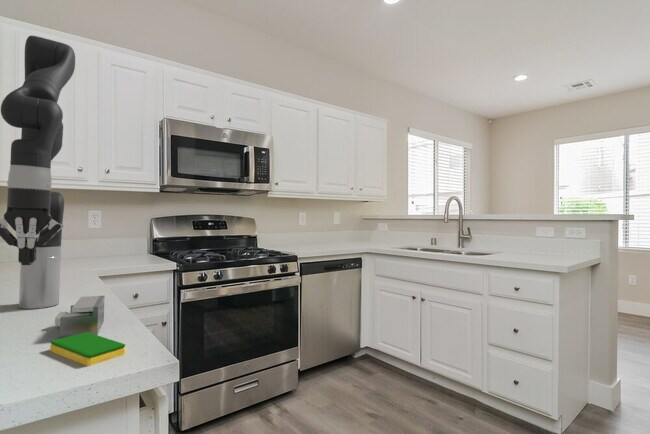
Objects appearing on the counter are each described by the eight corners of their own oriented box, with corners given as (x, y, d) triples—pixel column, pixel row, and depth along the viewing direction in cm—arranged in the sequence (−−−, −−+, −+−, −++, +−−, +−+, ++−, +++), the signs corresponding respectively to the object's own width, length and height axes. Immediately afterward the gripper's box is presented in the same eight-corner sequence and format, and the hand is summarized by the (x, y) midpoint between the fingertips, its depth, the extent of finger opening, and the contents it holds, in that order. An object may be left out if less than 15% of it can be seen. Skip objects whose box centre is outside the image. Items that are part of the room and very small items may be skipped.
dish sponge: (87, 342, 79) (87, 331, 79) (126, 356, 72) (126, 344, 72) (49, 352, 72) (49, 340, 72) (88, 368, 66) (88, 355, 66)
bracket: (70, 323, 90) (71, 297, 90) (103, 320, 93) (104, 295, 93) (59, 338, 79) (60, 308, 79) (97, 335, 82) (98, 306, 82)
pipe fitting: (78, 337, 82) (97, 326, 89) (77, 320, 82) (97, 310, 89) (43, 336, 82) (65, 324, 89) (43, 319, 82) (65, 309, 89)
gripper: (69, 190, 87) (66, 262, 88) (-2, 185, 82) (-5, 262, 82) (62, 189, 80) (58, 267, 81) (-16, 184, 75) (-19, 268, 75)
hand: (26, 264), depth 81 cm, fingers closed
